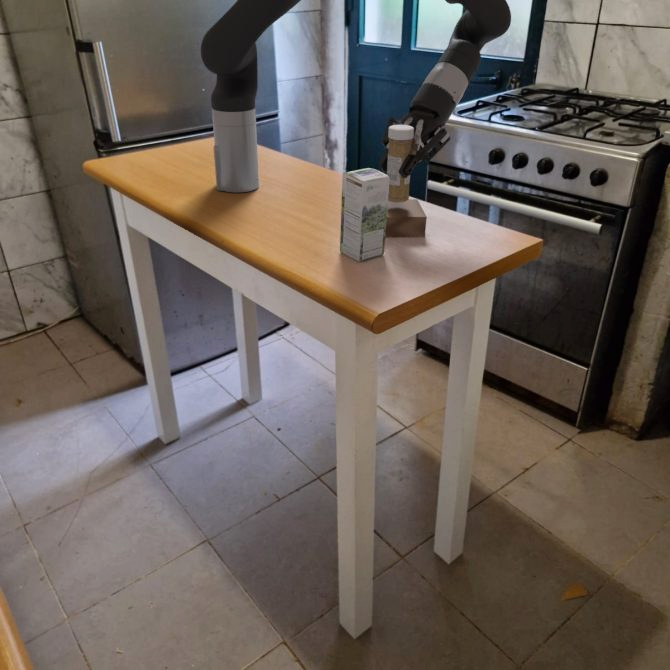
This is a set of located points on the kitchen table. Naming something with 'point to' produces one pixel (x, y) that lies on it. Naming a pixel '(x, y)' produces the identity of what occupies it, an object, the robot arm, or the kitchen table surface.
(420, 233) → the plinth
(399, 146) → the sprinkles bottle
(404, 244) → the kitchen table surface
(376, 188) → the syrup box
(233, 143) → the robot arm
